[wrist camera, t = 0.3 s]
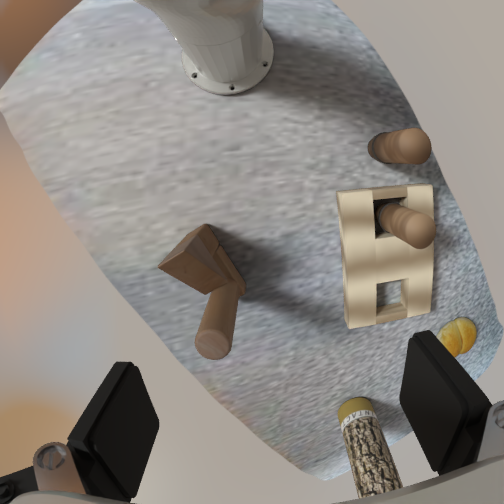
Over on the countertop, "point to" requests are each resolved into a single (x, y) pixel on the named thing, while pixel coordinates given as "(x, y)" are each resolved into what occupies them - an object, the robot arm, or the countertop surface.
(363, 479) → the paper tube
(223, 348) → the brown wooden angled piece
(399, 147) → the walnut peg
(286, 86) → the countertop surface
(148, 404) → the robot arm
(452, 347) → the bread roll
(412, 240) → the seated peg
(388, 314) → the socket board
